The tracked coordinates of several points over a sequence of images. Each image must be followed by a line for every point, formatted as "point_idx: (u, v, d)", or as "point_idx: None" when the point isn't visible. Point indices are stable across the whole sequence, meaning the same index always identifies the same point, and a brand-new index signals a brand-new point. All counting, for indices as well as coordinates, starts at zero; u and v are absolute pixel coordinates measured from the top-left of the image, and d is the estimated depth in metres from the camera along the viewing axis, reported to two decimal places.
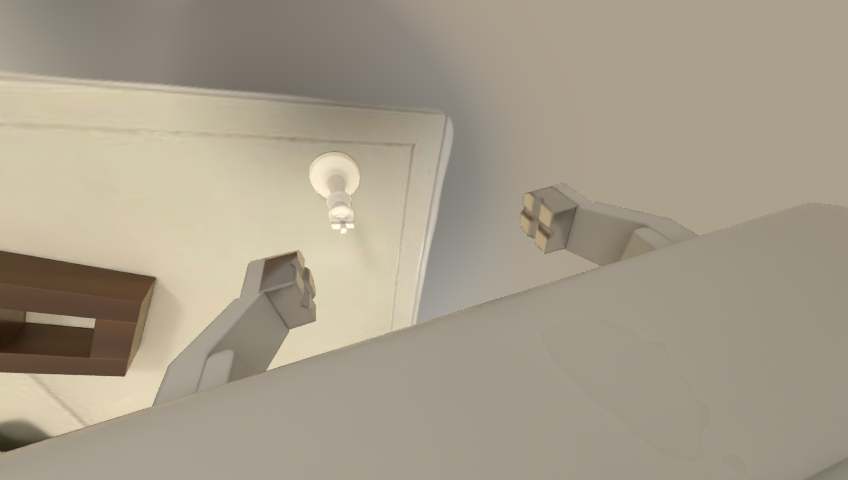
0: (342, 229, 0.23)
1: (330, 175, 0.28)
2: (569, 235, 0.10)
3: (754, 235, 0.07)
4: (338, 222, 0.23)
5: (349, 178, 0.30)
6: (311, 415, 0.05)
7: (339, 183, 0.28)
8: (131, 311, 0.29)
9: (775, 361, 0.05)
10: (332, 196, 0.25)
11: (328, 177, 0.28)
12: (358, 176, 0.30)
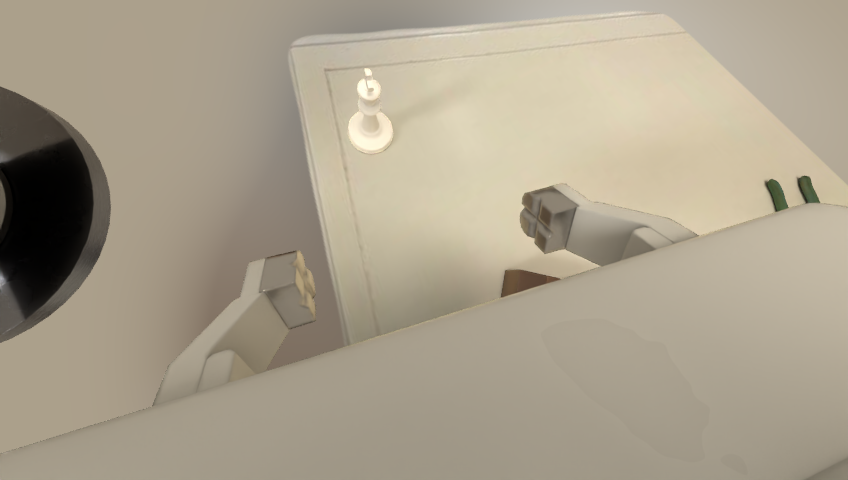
0: (367, 74, 0.23)
1: (363, 130, 0.31)
2: (569, 235, 0.10)
3: (754, 235, 0.07)
4: (366, 83, 0.24)
5: None
6: (311, 415, 0.05)
7: (363, 116, 0.30)
8: (531, 278, 0.31)
9: (775, 361, 0.05)
10: (363, 109, 0.27)
11: (366, 131, 0.31)
12: None
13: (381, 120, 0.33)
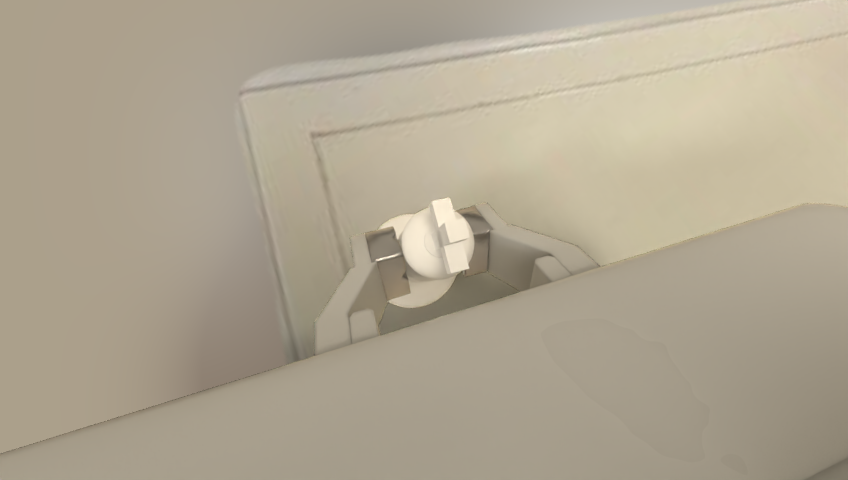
0: (452, 235, 0.06)
1: None
2: (489, 258, 0.10)
3: (754, 235, 0.07)
4: (442, 251, 0.07)
5: None
6: (311, 415, 0.05)
7: None
8: None
9: (774, 361, 0.05)
10: (412, 270, 0.10)
11: None
12: (396, 218, 0.15)
13: None
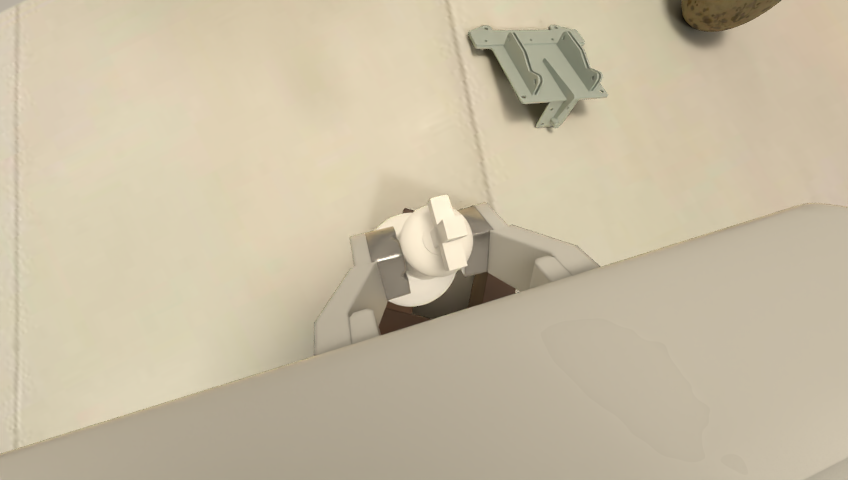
0: (450, 232, 0.06)
1: None
2: (488, 258, 0.10)
3: (754, 235, 0.07)
4: (441, 248, 0.07)
5: None
6: (311, 415, 0.05)
7: None
8: (379, 326, 0.25)
9: (774, 361, 0.05)
10: (411, 268, 0.10)
11: None
12: (396, 217, 0.15)
13: None
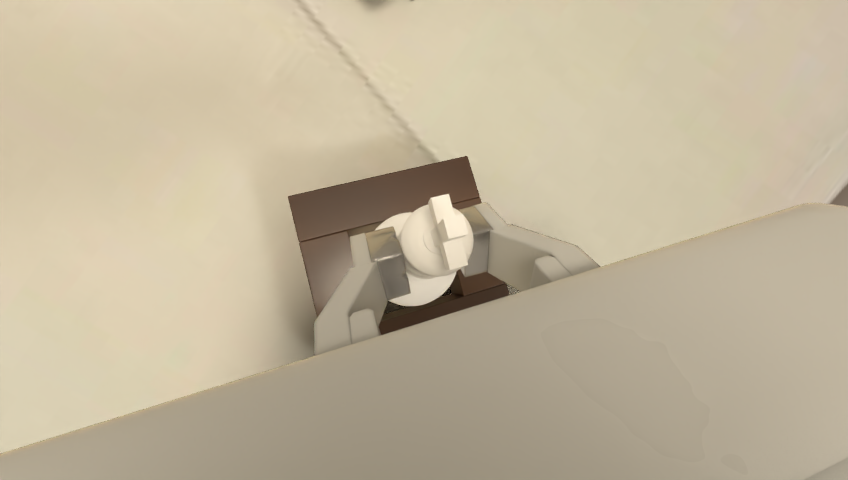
0: (451, 231, 0.06)
1: None
2: (488, 258, 0.10)
3: (754, 235, 0.07)
4: (442, 248, 0.07)
5: None
6: (311, 415, 0.05)
7: None
8: None
9: (774, 361, 0.05)
10: (411, 268, 0.10)
11: (406, 273, 0.14)
12: (396, 217, 0.15)
13: None
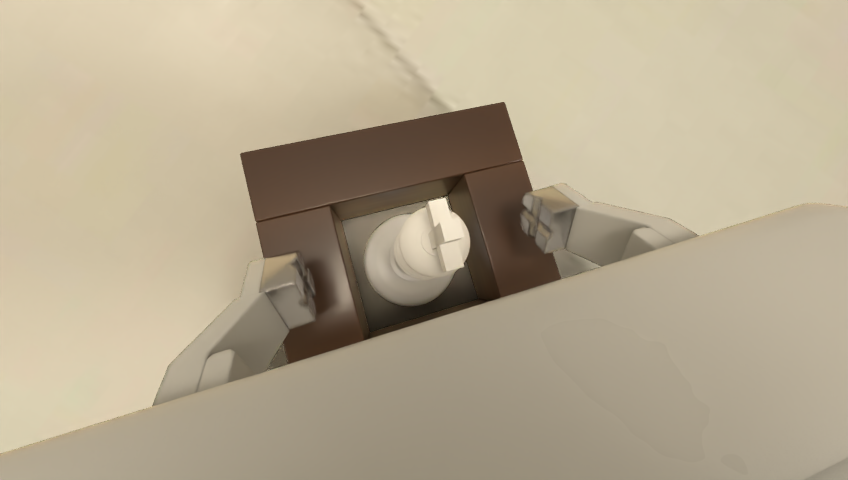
0: (447, 234, 0.06)
1: (400, 271, 0.14)
2: (569, 235, 0.10)
3: (754, 235, 0.07)
4: (439, 250, 0.07)
5: None
6: (311, 415, 0.05)
7: None
8: None
9: (775, 361, 0.05)
10: (410, 269, 0.10)
11: (405, 274, 0.14)
12: (395, 218, 0.16)
13: None
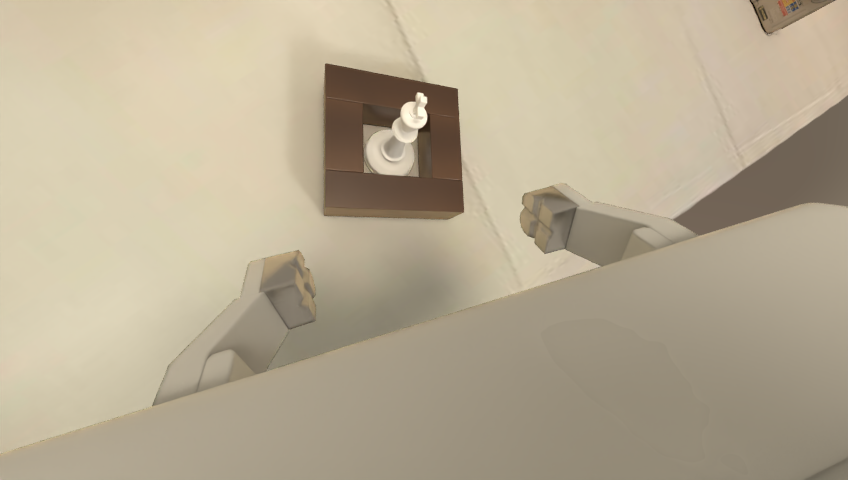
0: (422, 100, 0.20)
1: (385, 153, 0.27)
2: (569, 235, 0.10)
3: (754, 235, 0.07)
4: (416, 109, 0.21)
5: (389, 137, 0.28)
6: (311, 415, 0.05)
7: (390, 139, 0.26)
8: (333, 189, 0.24)
9: (775, 361, 0.05)
10: (397, 134, 0.23)
11: (387, 155, 0.27)
12: (387, 130, 0.29)
13: (405, 146, 0.29)
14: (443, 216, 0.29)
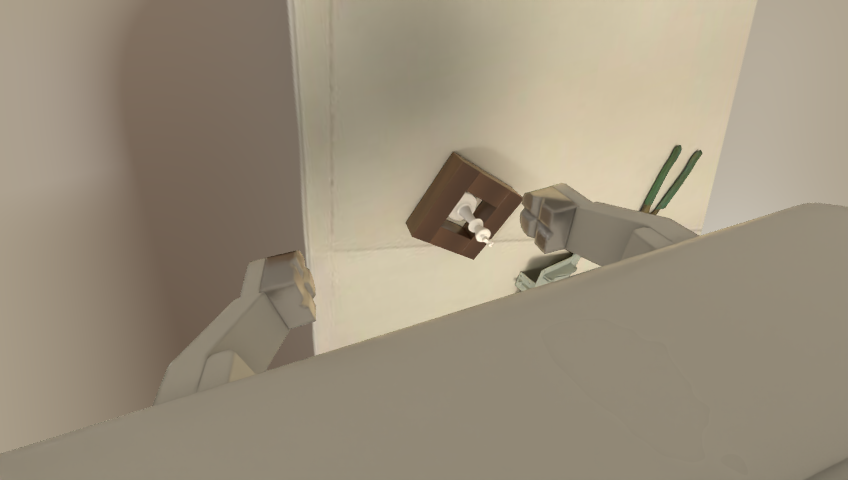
0: (490, 244, 0.37)
1: (465, 205, 0.43)
2: (569, 235, 0.10)
3: (754, 235, 0.07)
4: (487, 239, 0.37)
5: None
6: (311, 415, 0.05)
7: (472, 213, 0.42)
8: (468, 170, 0.38)
9: (774, 361, 0.05)
10: (476, 221, 0.40)
11: (463, 206, 0.43)
12: (473, 211, 0.45)
13: (460, 217, 0.45)
14: (412, 221, 0.42)
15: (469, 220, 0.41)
